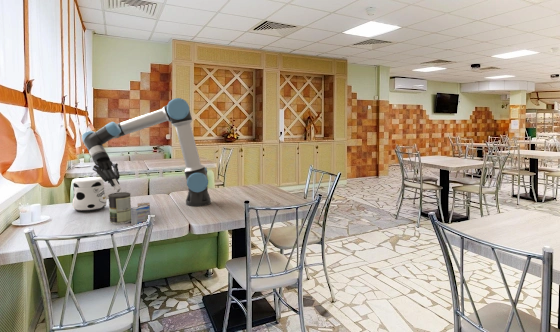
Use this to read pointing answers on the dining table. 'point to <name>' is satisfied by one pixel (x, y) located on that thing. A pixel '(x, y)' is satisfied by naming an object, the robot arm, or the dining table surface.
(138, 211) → the medicine box
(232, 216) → the dining table surface
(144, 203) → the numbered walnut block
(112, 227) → the dining table surface
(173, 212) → the dining table surface
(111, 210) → the coffee can
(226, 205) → the dining table surface
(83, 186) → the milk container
